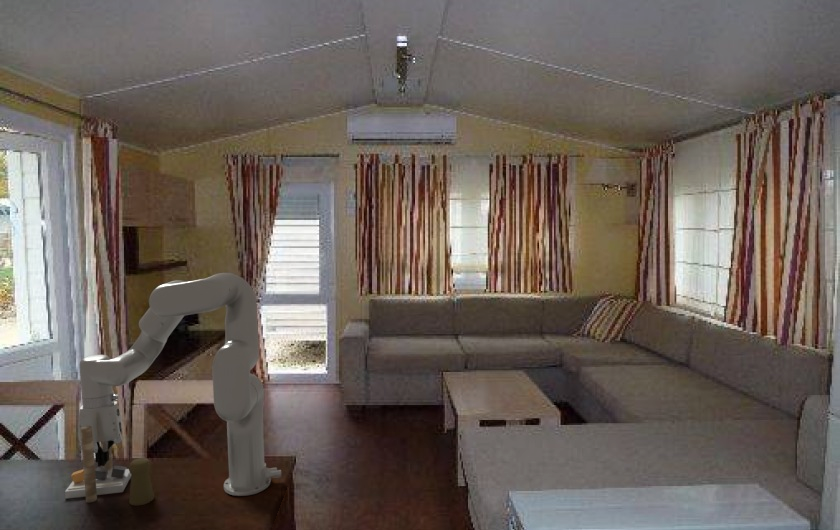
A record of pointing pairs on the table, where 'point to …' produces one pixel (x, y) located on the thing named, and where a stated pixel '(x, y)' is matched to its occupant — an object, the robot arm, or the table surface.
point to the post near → (88, 464)
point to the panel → (100, 486)
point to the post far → (109, 463)
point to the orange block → (78, 476)
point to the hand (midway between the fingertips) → (102, 464)
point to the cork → (140, 482)
